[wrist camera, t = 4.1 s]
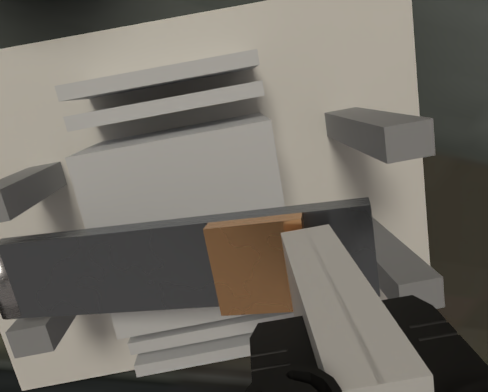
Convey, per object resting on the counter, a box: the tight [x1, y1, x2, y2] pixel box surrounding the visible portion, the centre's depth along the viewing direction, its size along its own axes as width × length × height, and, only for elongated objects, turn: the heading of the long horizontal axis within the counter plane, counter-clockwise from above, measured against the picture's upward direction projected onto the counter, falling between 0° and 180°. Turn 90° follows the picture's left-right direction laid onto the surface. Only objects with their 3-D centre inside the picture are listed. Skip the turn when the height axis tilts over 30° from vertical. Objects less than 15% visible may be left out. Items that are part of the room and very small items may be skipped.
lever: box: [0, 197, 380, 320], centre depth 15 cm, size 14×3×2 cm, turn 100°
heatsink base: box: [0, 0, 445, 391], centre depth 19 cm, size 24×18×9 cm
